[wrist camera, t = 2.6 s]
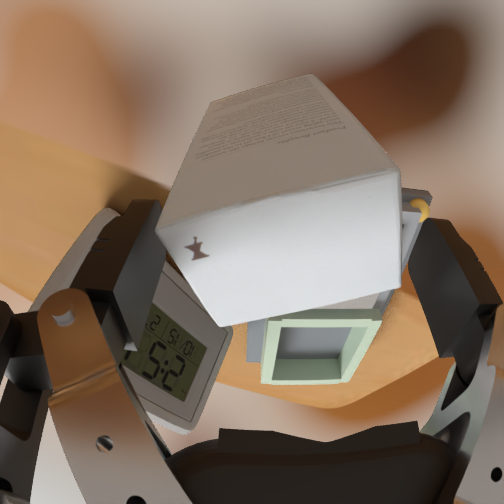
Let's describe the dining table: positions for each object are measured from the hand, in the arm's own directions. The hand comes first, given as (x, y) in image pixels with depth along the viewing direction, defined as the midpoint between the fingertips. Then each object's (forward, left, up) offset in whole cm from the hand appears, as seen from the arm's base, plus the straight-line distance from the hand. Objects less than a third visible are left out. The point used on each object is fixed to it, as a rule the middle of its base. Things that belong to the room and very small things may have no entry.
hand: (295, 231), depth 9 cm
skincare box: (0, 0, -11) cm, 11 cm away
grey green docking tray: (+5, -14, -10) cm, 18 cm away
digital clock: (-9, -13, -11) cm, 19 cm away
